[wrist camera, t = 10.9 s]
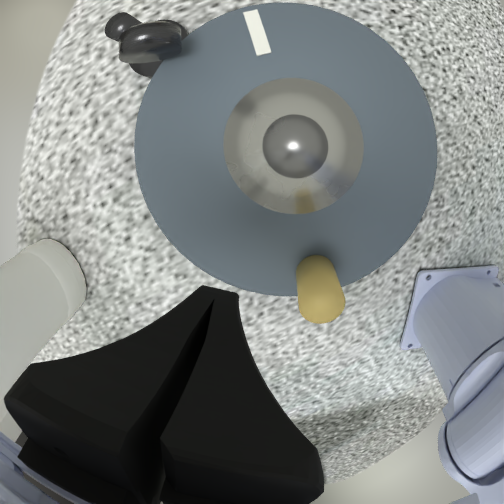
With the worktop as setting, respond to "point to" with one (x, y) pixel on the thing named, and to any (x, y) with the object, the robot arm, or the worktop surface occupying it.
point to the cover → (293, 145)
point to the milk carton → (8, 422)
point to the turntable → (239, 204)
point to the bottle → (35, 303)
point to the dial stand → (145, 41)
